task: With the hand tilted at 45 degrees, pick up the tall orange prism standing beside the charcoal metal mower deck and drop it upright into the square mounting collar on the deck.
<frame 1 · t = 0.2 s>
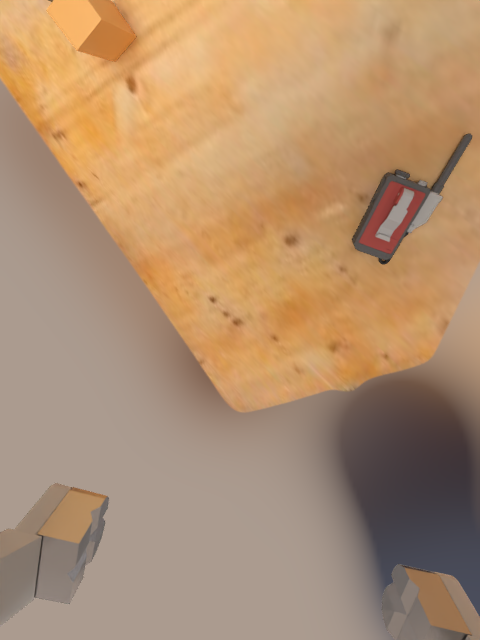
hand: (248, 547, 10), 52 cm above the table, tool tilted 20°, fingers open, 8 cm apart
walkie-talkie: (402, 197, 53), on the table
tall orange prism: (113, 33, 46), on the table
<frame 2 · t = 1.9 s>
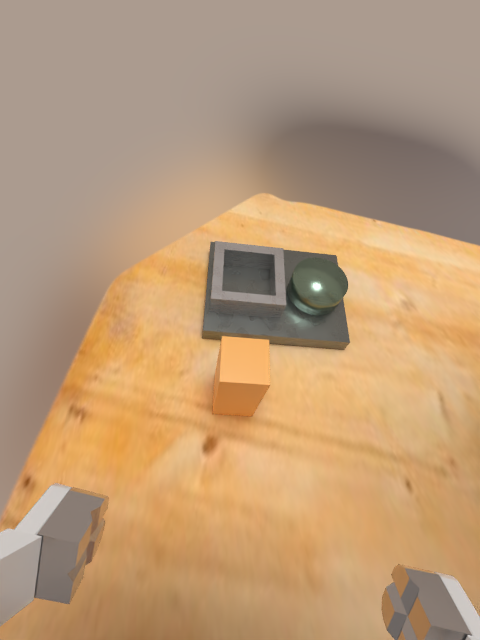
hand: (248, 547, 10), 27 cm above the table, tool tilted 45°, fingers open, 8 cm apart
tall orange prism: (232, 395, 40), on the table
deck: (272, 297, 47), on the table
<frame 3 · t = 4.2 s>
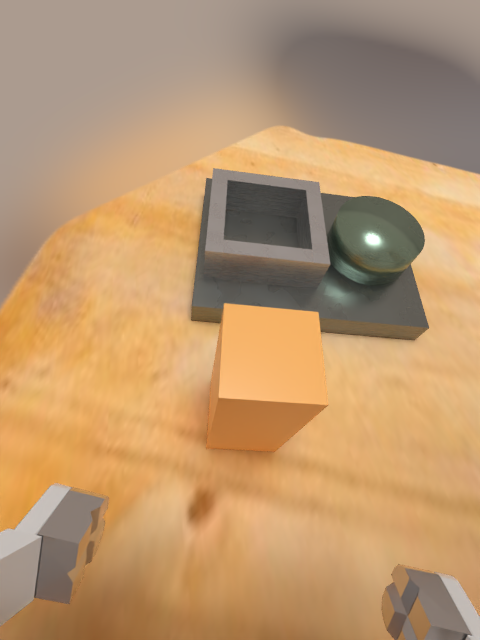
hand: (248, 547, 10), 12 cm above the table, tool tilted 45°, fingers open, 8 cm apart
tall orange prism: (241, 415, 23), on the table
deck: (300, 261, 31), on the table
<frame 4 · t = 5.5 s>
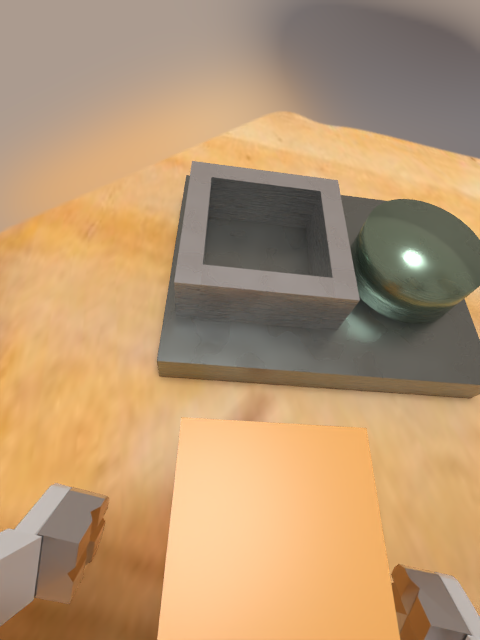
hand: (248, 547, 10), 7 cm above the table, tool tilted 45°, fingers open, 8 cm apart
tall orange prism: (228, 530, 16), on the table
deck: (312, 286, 23), on the table
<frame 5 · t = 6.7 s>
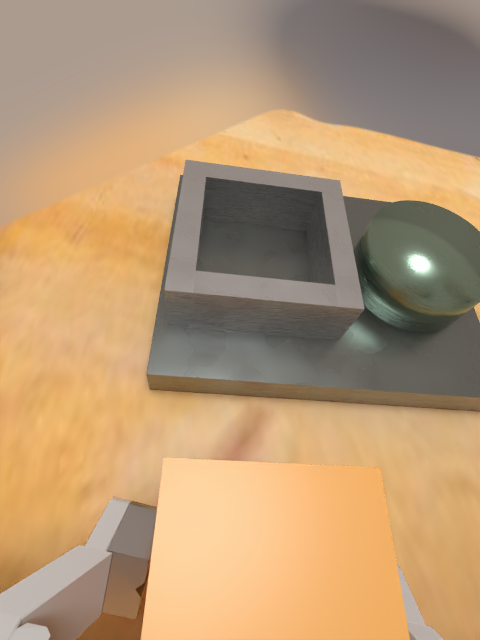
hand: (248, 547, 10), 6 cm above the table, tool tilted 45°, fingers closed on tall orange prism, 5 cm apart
tall orange prism: (223, 559, 14), on the table, touching gripper
deck: (312, 292, 22), on the table
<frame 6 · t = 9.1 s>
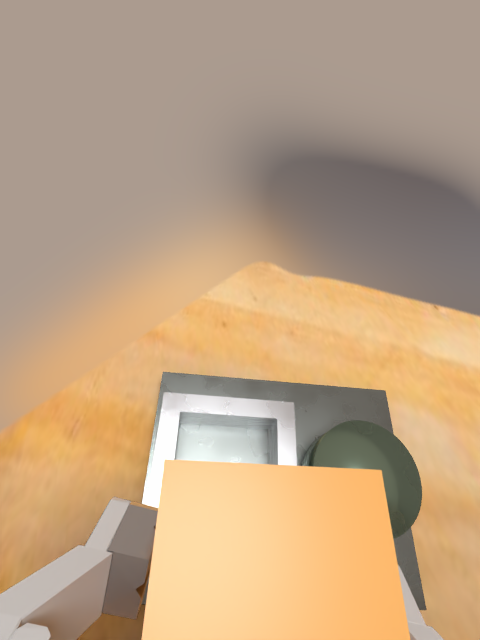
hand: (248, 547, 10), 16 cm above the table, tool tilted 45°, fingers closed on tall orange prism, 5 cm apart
tall orange prism: (222, 560, 14), point 10 cm above the table, touching gripper
deck: (273, 480, 26), on the table
when the fingers open (9 cm above the table, at t = 11.6 s): tall orange prism drops 1 cm, resting on deck.
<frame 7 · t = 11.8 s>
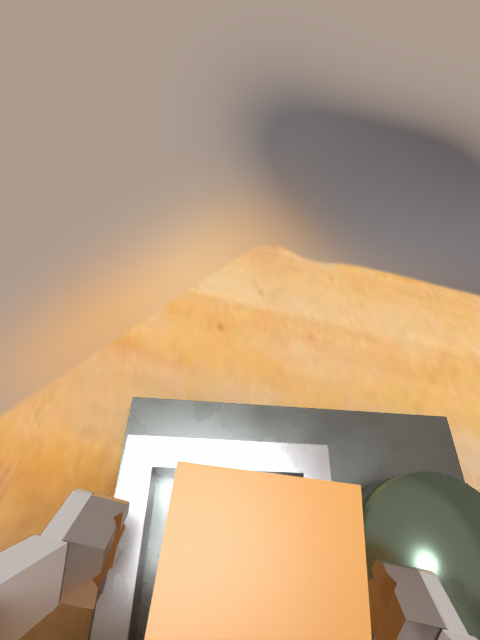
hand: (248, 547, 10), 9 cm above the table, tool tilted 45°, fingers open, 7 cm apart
tall orange prism: (220, 556, 16), point 2 cm above the table, touching deck
deck: (294, 555, 18), on the table
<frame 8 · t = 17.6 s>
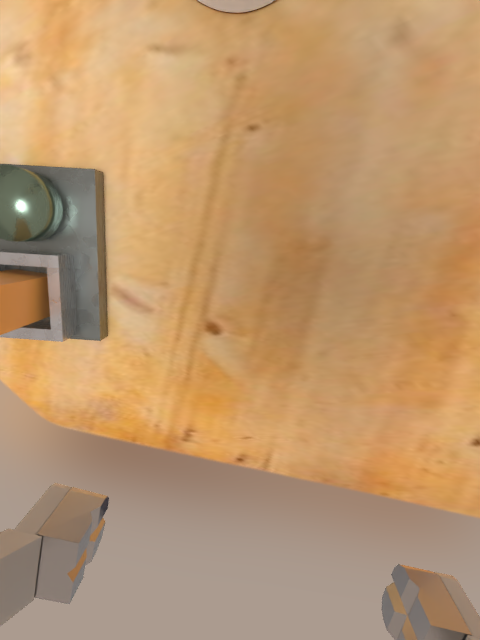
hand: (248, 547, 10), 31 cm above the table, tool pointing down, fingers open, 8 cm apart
tall orange prism: (35, 291, 38), point 2 cm above the table, touching deck
deck: (44, 254, 39), on the table
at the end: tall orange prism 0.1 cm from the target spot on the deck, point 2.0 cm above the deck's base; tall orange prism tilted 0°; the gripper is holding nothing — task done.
